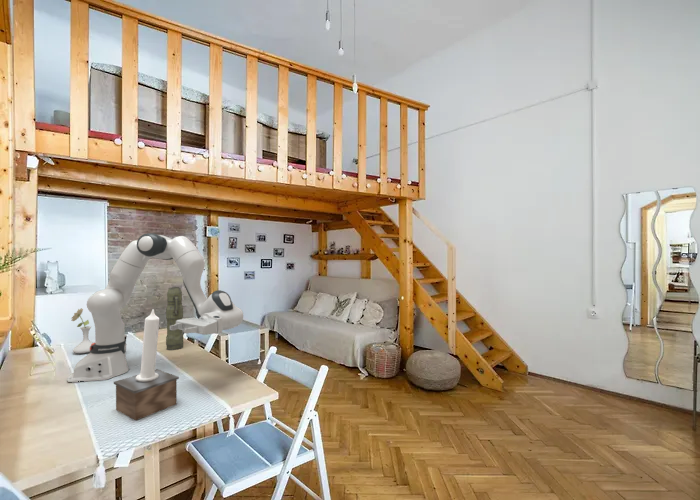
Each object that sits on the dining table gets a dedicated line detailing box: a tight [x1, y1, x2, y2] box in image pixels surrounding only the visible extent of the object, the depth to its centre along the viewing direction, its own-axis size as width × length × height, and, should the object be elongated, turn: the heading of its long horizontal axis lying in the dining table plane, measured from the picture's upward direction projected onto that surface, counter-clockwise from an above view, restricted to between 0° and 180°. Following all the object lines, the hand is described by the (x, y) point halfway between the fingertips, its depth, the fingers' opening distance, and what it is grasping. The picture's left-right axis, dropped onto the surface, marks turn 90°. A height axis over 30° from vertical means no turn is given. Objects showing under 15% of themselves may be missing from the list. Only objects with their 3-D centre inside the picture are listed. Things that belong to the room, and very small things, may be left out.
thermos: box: [165, 286, 184, 351], centre depth 195 cm, size 9×12×35 cm
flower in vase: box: [70, 308, 94, 354], centre depth 187 cm, size 13×11×25 cm
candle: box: [136, 308, 160, 382], centre depth 122 cm, size 7×7×25 cm
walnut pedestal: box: [113, 368, 180, 421], centre depth 122 cm, size 15×15×10 cm
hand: (177, 329), depth 131 cm, fingers open, 8 cm apart
